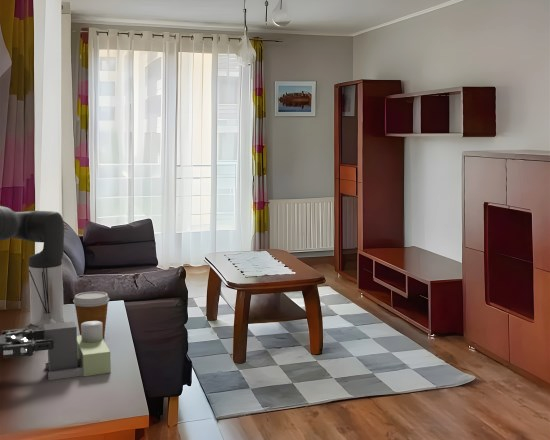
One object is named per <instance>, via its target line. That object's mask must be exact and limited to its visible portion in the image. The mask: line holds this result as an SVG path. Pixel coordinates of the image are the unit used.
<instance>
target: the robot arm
mask: <svg viewBox="0 0 550 440" xmlns="http://www.w3.org/2000/svg"><path fill="white" fill-rule="evenodd" d="M63 218H64V217H63V216H62V215H61V213H60V212H58V211H54V210H53V211H52V210H49V211H48V210H29V211H14V210H12V209H11V208H9V207H6V206H3V205H0V241H1V242H2V241H8V240H10V239H17V240H23V241H28V242H31V243H43V246H42V250H41V251H40V252H37V253H35V254H32V255H30V256H29V257H28V275H29V276H28V279H29V280H28V282H29V308H30V309H29V311H30V324H31V326H36V327H38V325H39V323H40V322H41V321H42V320H43V319H44V312H45V309H46V308H45V309H44V307H43V304H44V306H45V298H46V307H47V312H48V305H47V297H46V289H47V279H46V266H47V278H48V301H49V312H51V319H52V320H54V321H55V322H56V323H63V322H65V319H64V315H65V313H64V311H65V310H64V287H63V286H64V285H63V284H64V283H63V282H64V280H63V278H64V277H63V257H64V253H65V252H64V251H65V250H64V249H65V242H64V241H65V222H64V219H63ZM43 268H44V273H45V281H46V289H45V298H44V289H43V279H44V273H43V279H42V272H43ZM29 270H30V272H31V274H32V277H33V279H34V282H35V284H36V287H37V289H38V292H39V294H40V297H41V299H42V301H43V304H42V302H41V299H40V297H39V294H38V292H37V290H36V287H35V285H34V282H33V280H32V277H31V275H30V272H29ZM45 281H44V288H45ZM53 348H54V341H53V339H46V340H44V330H38V329H36V330H33V329H30V328H29V327H23V328H14V329H13V328H12V329H5V330H1V334H0V354H2V358H3V359H9V358H10V359H11V358H22V357H33V355H34V354H36V352H40V351H48V350H51V349H53Z"/></svg>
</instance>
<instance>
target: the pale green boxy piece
mask: <svg viewBox="0 0 550 440" xmlns="http://www.w3.org/2000/svg"><path fill="white" fill-rule="evenodd" d="M77 362H78V366H79V367H78V368H74V369H67V370H59V371H51V372H49V371H47V378H48V380H49V381H53V380H59V379H60V380H61V379H67V378H74V377H75V378H76V377H81V376H83V377H87V376H88V377H89V376H95V375H96V376H97V375H103V374H104V375H105V374H110V373H112V372H111V371H112V370H111V369H112V368H111V366H112V365H111V362H112V361H111V350H110V349H109V347H108V345H107V343H106V342H105V340H104V338H103V327H102V322H100V321H88V322H84V323H82V324H81V335H80V334H79V335H78V334H77ZM45 370H49V368H48V360H46V361H45Z"/></svg>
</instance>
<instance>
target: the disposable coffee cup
mask: <svg viewBox="0 0 550 440" xmlns="http://www.w3.org/2000/svg"><path fill="white" fill-rule="evenodd" d="M109 301H110V297H109V295H108V293H107V292H104V291H86V292H80V293H77V294H75V295H74V298H73V300H72V302H73V304H74V306H75V312H76V313H75V314H76V319H77V325H78V331H79V335H81V324H82V323H84V322H88V321H100V322H102V327H103V339H104V338H105V333H106V332H105V331H106V325H107V323H106V322H107V314H108V313H107V312H108V307H109V306H108V304H109Z"/></svg>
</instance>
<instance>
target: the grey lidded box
mask: <svg viewBox="0 0 550 440" xmlns="http://www.w3.org/2000/svg"><path fill="white" fill-rule="evenodd" d="M43 329H44V340H46V339H53V341H54V348H53V349H51V350H47V361H48V368H49V369H48V372H51V371H59V370H67V369H74V368H79V365H78V362H77V335H78V333H77V332H78V331H77V330H78V329H77V325H76V322H75V321H74V320H73V321H63V322H62V323H53V324H43Z"/></svg>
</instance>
